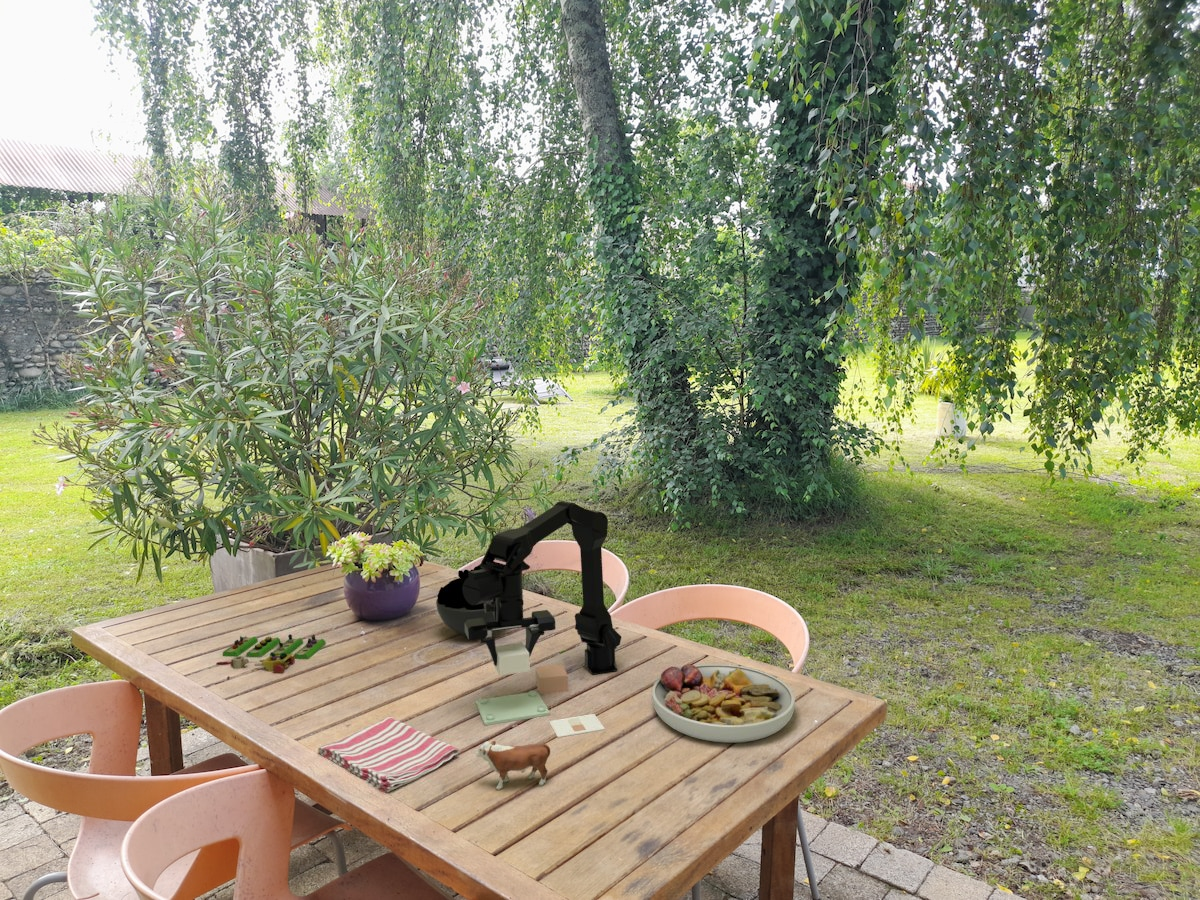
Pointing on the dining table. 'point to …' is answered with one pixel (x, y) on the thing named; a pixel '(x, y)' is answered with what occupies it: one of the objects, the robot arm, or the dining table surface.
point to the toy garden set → (278, 657)
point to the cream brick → (512, 659)
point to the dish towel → (389, 754)
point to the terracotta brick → (551, 679)
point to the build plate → (511, 708)
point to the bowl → (722, 702)
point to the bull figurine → (515, 759)
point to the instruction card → (576, 725)
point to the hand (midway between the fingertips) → (511, 662)
